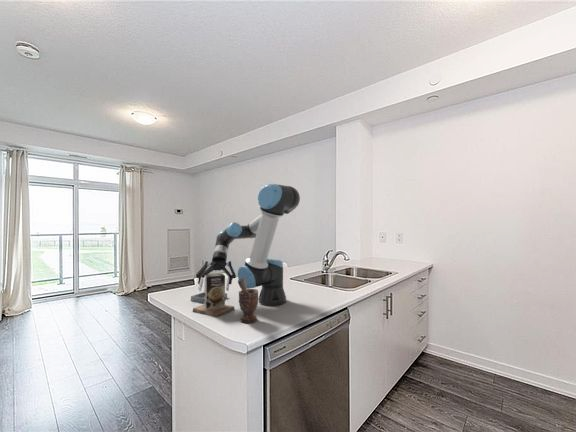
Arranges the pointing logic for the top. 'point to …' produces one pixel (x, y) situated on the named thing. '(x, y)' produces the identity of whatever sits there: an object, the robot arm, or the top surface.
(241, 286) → the mortar and pestle
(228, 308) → the walnut board
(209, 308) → the coffee box
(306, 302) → the top surface
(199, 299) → the holder ring
